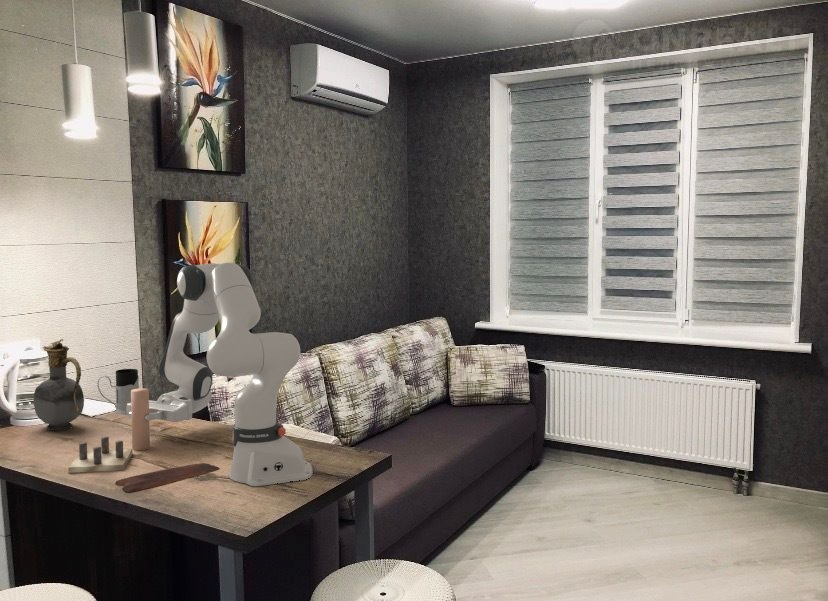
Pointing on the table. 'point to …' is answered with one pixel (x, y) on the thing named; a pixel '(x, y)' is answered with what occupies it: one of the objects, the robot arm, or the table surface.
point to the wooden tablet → (163, 477)
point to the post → (140, 419)
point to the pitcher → (59, 391)
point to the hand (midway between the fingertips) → (138, 416)
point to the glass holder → (123, 388)
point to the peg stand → (100, 458)
